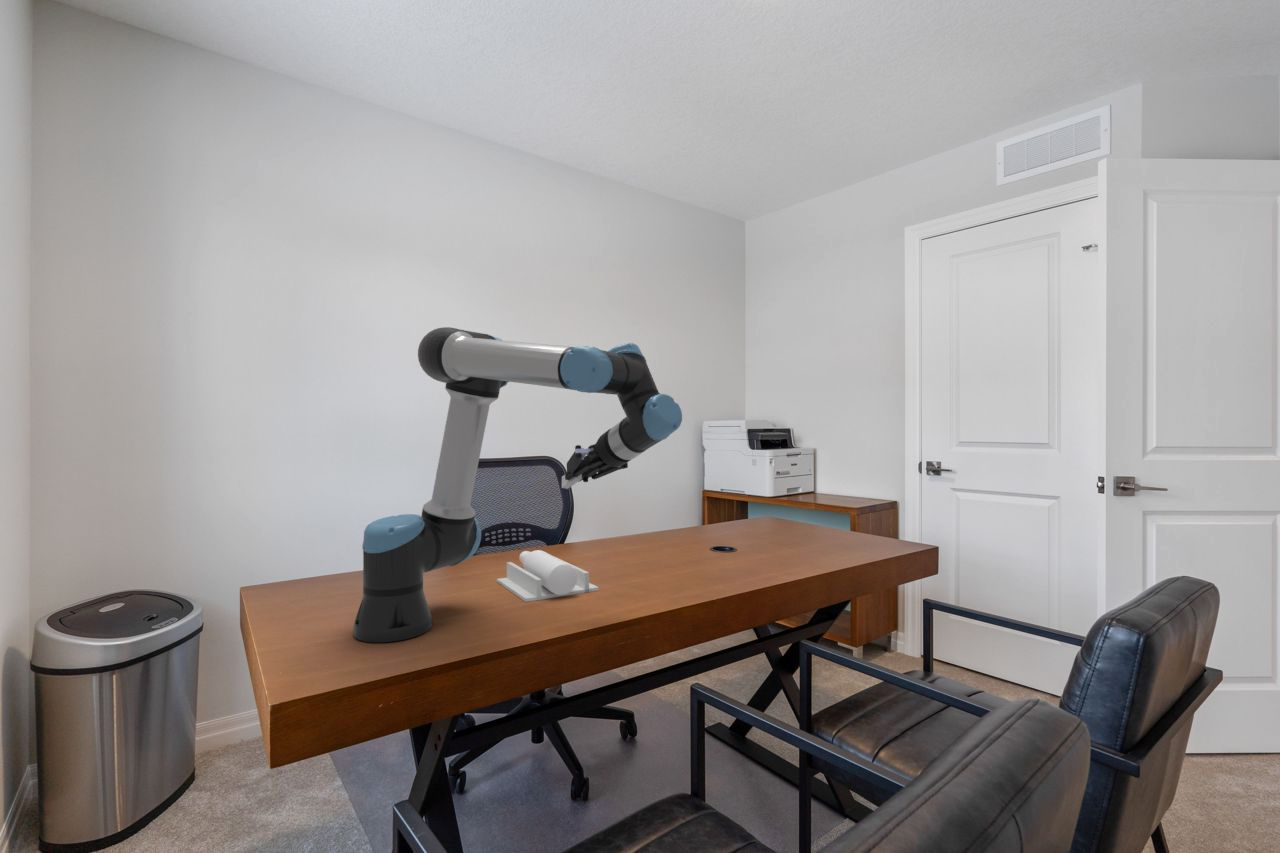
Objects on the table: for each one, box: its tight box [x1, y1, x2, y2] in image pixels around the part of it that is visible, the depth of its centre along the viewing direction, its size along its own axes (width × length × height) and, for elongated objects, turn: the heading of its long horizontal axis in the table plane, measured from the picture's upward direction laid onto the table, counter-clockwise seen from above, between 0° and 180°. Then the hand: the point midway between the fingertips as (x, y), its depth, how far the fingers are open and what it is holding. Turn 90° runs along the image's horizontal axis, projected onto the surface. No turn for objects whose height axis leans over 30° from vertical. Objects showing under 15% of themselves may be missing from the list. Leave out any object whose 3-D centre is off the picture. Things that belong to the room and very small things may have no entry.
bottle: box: [518, 549, 577, 595], centre depth 161 cm, size 8×8×30 cm
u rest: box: [496, 556, 600, 603], centre depth 159 cm, size 22×20×5 cm
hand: (564, 482), depth 135 cm, fingers closed
